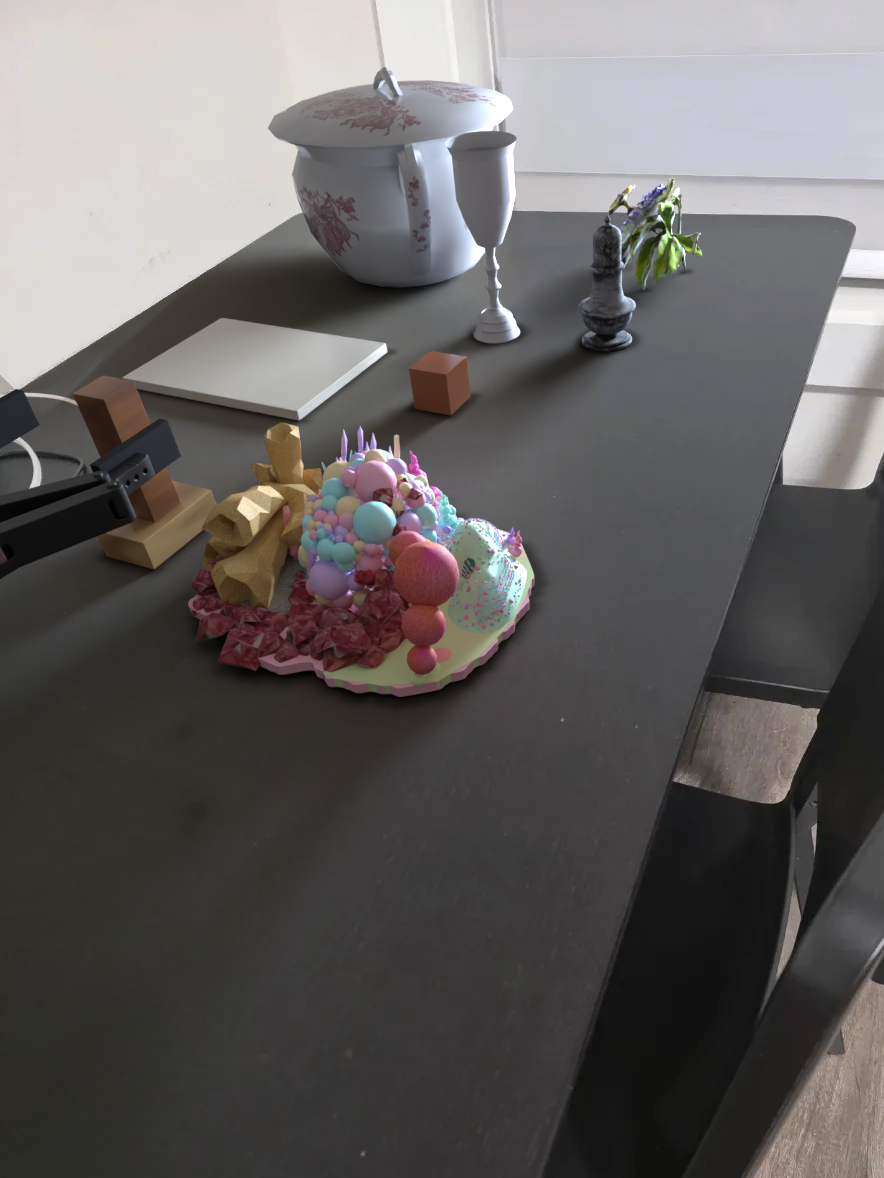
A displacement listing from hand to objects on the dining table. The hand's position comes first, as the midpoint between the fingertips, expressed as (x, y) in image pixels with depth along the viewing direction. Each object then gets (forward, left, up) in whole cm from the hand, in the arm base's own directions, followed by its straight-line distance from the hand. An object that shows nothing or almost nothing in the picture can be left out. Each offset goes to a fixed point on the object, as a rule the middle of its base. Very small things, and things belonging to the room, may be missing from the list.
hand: (97, 421), depth 64 cm
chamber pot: (-11, +60, -11) cm, 62 cm away
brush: (0, +2, -11) cm, 11 cm away
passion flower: (+18, +68, -11) cm, 71 cm away
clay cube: (+10, +29, -11) cm, 33 cm away
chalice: (+8, +46, -11) cm, 48 cm away
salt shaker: (+20, +48, -11) cm, 53 cm away
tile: (-12, +30, -11) cm, 34 cm away
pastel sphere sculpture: (+19, +2, -11) cm, 22 cm away
